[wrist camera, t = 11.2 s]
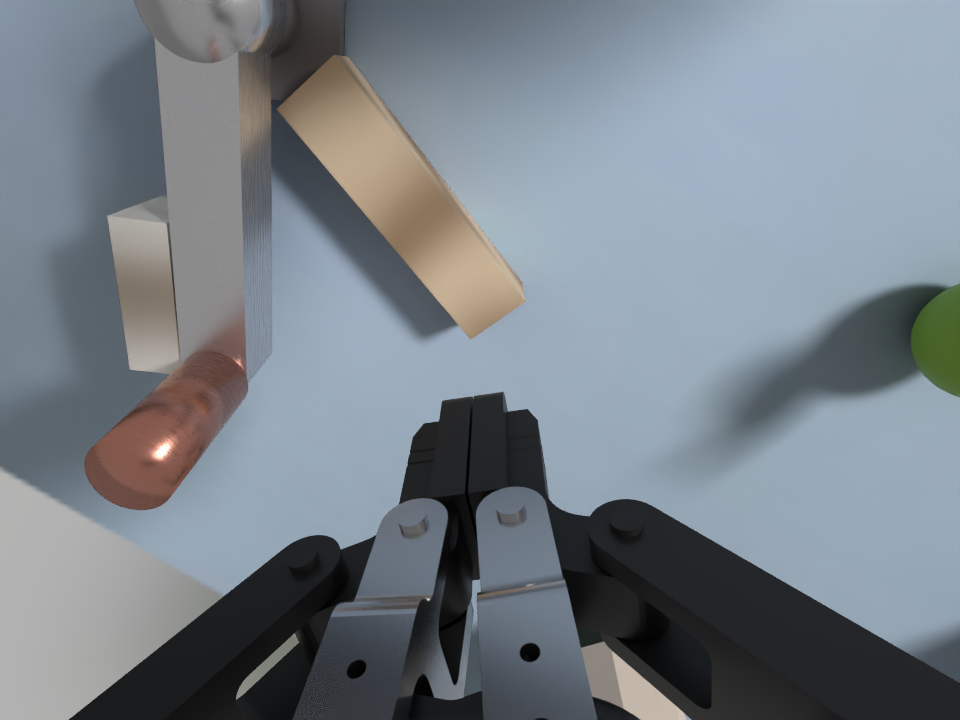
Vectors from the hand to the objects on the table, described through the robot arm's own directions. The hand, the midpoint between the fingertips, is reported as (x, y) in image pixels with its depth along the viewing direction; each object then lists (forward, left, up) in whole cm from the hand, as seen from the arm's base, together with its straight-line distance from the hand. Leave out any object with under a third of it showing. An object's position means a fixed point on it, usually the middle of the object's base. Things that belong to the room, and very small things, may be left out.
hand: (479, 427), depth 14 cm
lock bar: (-2, -10, -11) cm, 15 cm away
